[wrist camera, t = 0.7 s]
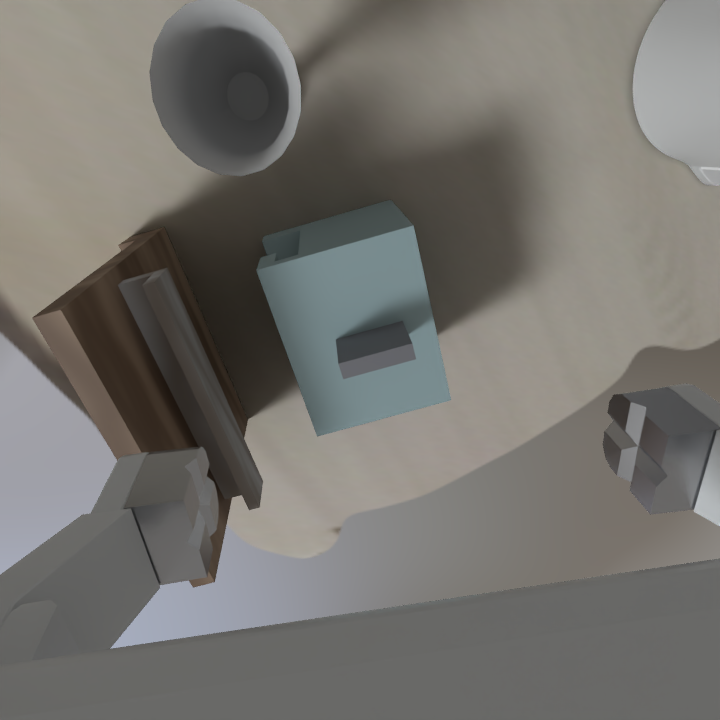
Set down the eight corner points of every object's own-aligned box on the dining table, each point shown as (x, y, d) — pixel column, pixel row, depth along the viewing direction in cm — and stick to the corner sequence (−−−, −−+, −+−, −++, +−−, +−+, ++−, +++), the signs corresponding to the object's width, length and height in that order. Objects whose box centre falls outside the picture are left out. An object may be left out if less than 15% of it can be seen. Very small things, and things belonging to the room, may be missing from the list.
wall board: (198, 217, 43) (118, 293, 25) (276, 411, 52) (257, 570, 34) (130, 236, 43) (3, 326, 26) (219, 427, 52) (171, 593, 34)
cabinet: (390, 199, 44) (425, 239, 31) (423, 343, 50) (464, 428, 37) (264, 236, 44) (243, 290, 31) (312, 373, 51) (312, 469, 37)
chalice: (206, 48, 38) (129, 4, 22) (298, 39, 38) (288, -11, 22) (226, 154, 41) (172, 183, 25) (311, 145, 42) (311, 168, 25)
